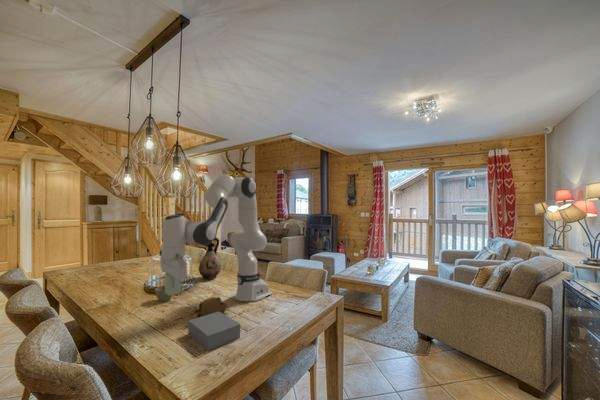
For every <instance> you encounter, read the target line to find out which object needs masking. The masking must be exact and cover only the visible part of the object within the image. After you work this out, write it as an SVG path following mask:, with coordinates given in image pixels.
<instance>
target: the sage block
mask: <svg viewBox="0 0 600 400" xmlns="http://www.w3.org/2000/svg"><path fill="white" fill-rule="evenodd" d="M182 280H183V279H180V282H179V287H178V288H174V287H173V283H174V277H172V276H171V275H169V274H167V273H165V272H164V286H165V293H166V294H167V295H172V296H173V295H177V294H181V293H182Z"/></svg>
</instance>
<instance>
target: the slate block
mask: <svg viewBox="0 0 600 400" xmlns="http://www.w3.org/2000/svg"><path fill="white" fill-rule="evenodd" d="M187 325H188V326H187V327H188V329H187V334H188V335H189V336H190V337H191V338H192V339H193V340H194V341H196V343H198V344H199V345H200V346H201V347H202V348H204V349H205V350H206V351H207V352H209V351H211V350H214V349H216V348H219V347H221V346H224V345H226V344H228V343H230V342H234V341H236V340H238V339H241V324H240V323H239V322H237V321H236V320H234V319H233V318H231V317H229V316H228V315H226V314H224V313H221V312H215V313H212V314H209V315H205V316H202V317H199V318H198V317H196V318H193V319H189V320H188V324H187ZM233 340H234V341H233Z"/></svg>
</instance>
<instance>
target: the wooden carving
mask: <svg viewBox="0 0 600 400" xmlns="http://www.w3.org/2000/svg"><path fill="white" fill-rule="evenodd" d="M227 307H228V304H227V303H225V302H222V299H221V297H219V296H218V297H214V296H213V297H209V298H206V299H204V300H203V301H200V303H199V309H195V310H194V311H193V313H194V314H195V315H196V318H199V317H202V316H205V315H209V314H212V313H215V312H221V313H223V314H224V313H225V312H226V309H227Z"/></svg>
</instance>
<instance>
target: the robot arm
mask: <svg viewBox="0 0 600 400" xmlns="http://www.w3.org/2000/svg"><path fill="white" fill-rule="evenodd" d="M257 189H258V188H257V183H256V181H255V179H254V178H252V177H248V176H247V177H246V176H245V177H241V176H240V177H239V176H238V177H233V176H231V175H229V174H227V173H226V174H225V173H223V174H222V175H220V176H219V177H217V178H216V179H215V180H214V181H213V182H212V183H211V185H209V187H208V188H207V190H206V192H205V194H204V199H205V201H206V203H207V204H208V205H209V206H210V207H211V208H212V210H211V211H210V214H209V216H208V218H207V219H205V220H204V221H193V220H191V219H188V218H187V217H185V216H184V214H178V213H176V214H171V215H167V216H166V217H164V219H163V221H162V227H161V229H162V230H161V237H162V245H161V249H160V250H159V251H158V252H159V254H158V255H159V256H160V268H161V271H162V272H163V273H164V274H165V273H167V274H169V275H171V276H172V277H174V283H173V287H174V288H178V287H179V282H180V279H182V280H185V279H186V278H187V275H188V272H187V271H188V269H187V262H186V259H184V257H185V255H186V243H189V244H197V245H201V246H203V245H209V244H210V243H212V242H213V243H214V241H213V240H214V239H215V238H217V233H218V229H219V227H220V226H221V223H222V221H223V218H224V216H225V214H226V212H227V210H228V207H229V206H228V205H229V202H228V201H229V199H230V198H238V201H237V202H238V203H237V204H238V205H237V211H238V212H237V213H238V214H237V215H238V216H237V217H238V219H237V221H238V223H239V225H241V227H242V229H243V230H237V231H234V232H233V233H232V234H231V236H230V238H229V242H230V246H232V247H233V249H234V250H235V254H236V256H237V261H238V262H237V264H238V265H237V268H238V270H237V271H238V272H237V276H236V277H237V279H236V281H237V288H236V293H235V296H234V298H235V300H237V301H240V302H258V300H259V301H261V300H263V299H265V298H264V297H266V296H268V295H270V296H272V295H273V292H272V290H270V287H269V285H268V283H267V282H265V281H264V280H262V279H261V278H260V277H263V276H264V274H263V273H261V272H258V259H257V257H256V256H255V255H254V253H253V252H260V251H263V250H264V249H265V248H266V247H267V242H268V239H267V237H266V235H265V234H264V233H263V232H262V229H261V227H260V226H259V220H258V202H257V196H256V191H257ZM271 294H272V295H271ZM268 297H269V296H268ZM262 298H263V299H262ZM266 298H267V297H266ZM260 299H261V300H260Z"/></svg>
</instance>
